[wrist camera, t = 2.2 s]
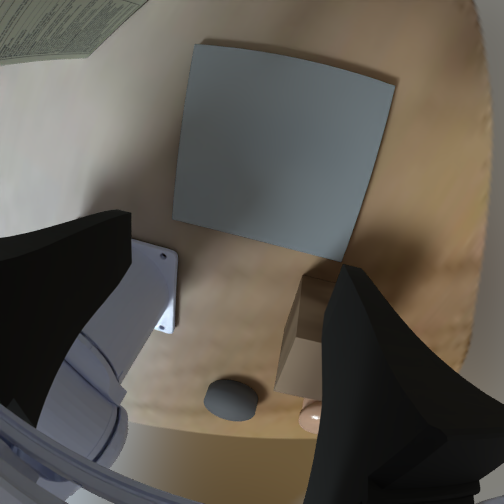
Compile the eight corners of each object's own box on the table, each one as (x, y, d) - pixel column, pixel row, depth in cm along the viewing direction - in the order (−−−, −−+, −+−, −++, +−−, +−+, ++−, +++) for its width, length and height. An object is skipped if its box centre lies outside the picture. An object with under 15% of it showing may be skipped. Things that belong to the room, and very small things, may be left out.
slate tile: (175, 215, 20) (171, 219, 20) (198, 45, 15) (194, 44, 14) (340, 257, 20) (341, 262, 19) (392, 86, 14) (395, 86, 14)
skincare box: (124, -37, 12) (-20, -80, 2) (152, 0, 14) (-8, -44, 3) (61, 26, 15) (-84, 33, 4) (83, 63, 16) (-75, 86, 6)
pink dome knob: (296, 394, 27) (292, 429, 24) (312, 364, 25) (309, 402, 21) (342, 402, 27) (341, 437, 23) (362, 373, 24) (364, 411, 21)
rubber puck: (207, 399, 30) (202, 412, 29) (211, 372, 28) (205, 386, 26) (253, 411, 30) (250, 425, 29) (263, 386, 28) (259, 401, 26)
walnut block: (284, 328, 23) (273, 390, 18) (302, 274, 21) (295, 337, 16) (346, 342, 23) (348, 405, 18) (371, 292, 21) (383, 355, 15)
